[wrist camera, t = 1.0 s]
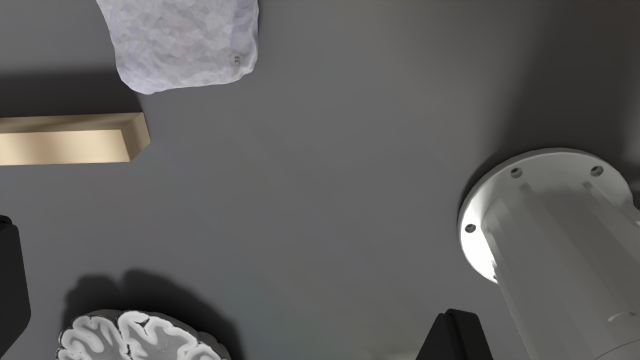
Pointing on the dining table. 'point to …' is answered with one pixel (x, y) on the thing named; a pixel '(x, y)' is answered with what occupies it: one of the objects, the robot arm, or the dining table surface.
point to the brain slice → (135, 338)
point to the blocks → (72, 138)
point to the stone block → (182, 41)
